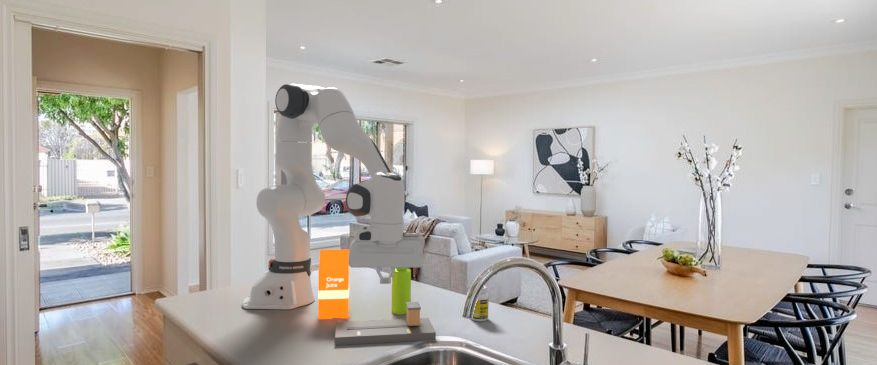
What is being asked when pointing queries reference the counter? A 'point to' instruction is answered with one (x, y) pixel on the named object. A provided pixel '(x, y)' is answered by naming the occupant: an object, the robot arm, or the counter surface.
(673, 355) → the counter surface
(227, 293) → the counter surface
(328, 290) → the orange juice
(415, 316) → the fader tab
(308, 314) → the counter surface
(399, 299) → the soap dispenser
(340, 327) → the board
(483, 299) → the supplement bottle
